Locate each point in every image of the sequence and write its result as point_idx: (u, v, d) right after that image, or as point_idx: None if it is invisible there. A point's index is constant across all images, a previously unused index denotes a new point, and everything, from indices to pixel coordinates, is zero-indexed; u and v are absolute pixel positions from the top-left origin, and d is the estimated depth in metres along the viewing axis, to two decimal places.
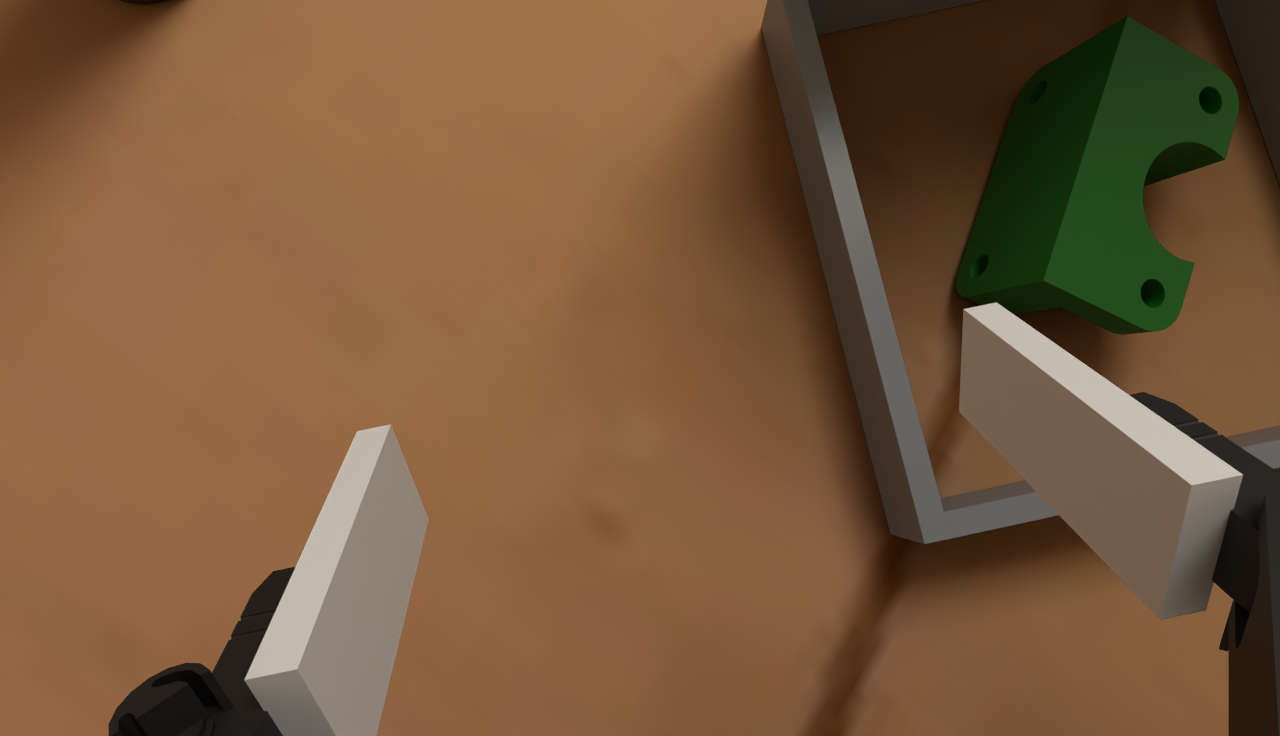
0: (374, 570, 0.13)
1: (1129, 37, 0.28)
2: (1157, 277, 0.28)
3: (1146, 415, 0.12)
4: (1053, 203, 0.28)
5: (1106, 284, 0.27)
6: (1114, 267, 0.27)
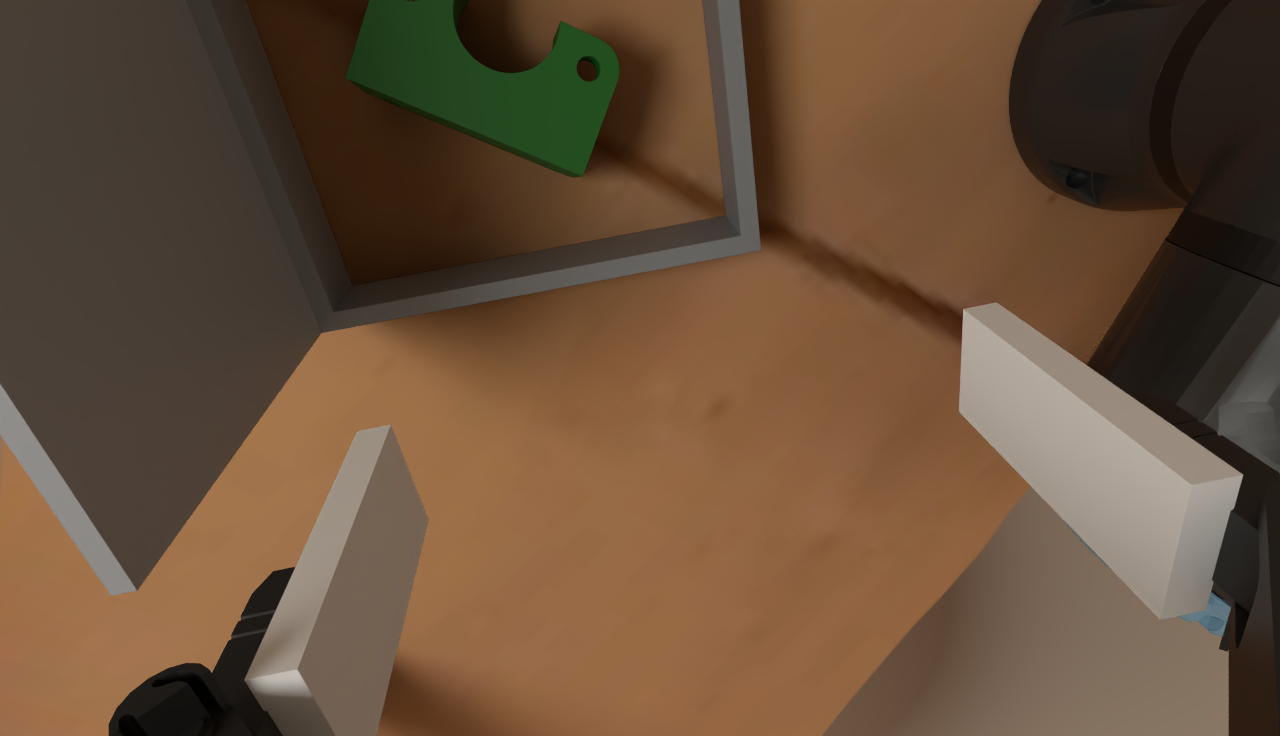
0: (374, 570, 0.13)
1: (365, 77, 0.32)
2: (575, 62, 0.33)
3: (1146, 415, 0.12)
4: (515, 149, 0.34)
5: (583, 115, 0.34)
6: (569, 106, 0.34)
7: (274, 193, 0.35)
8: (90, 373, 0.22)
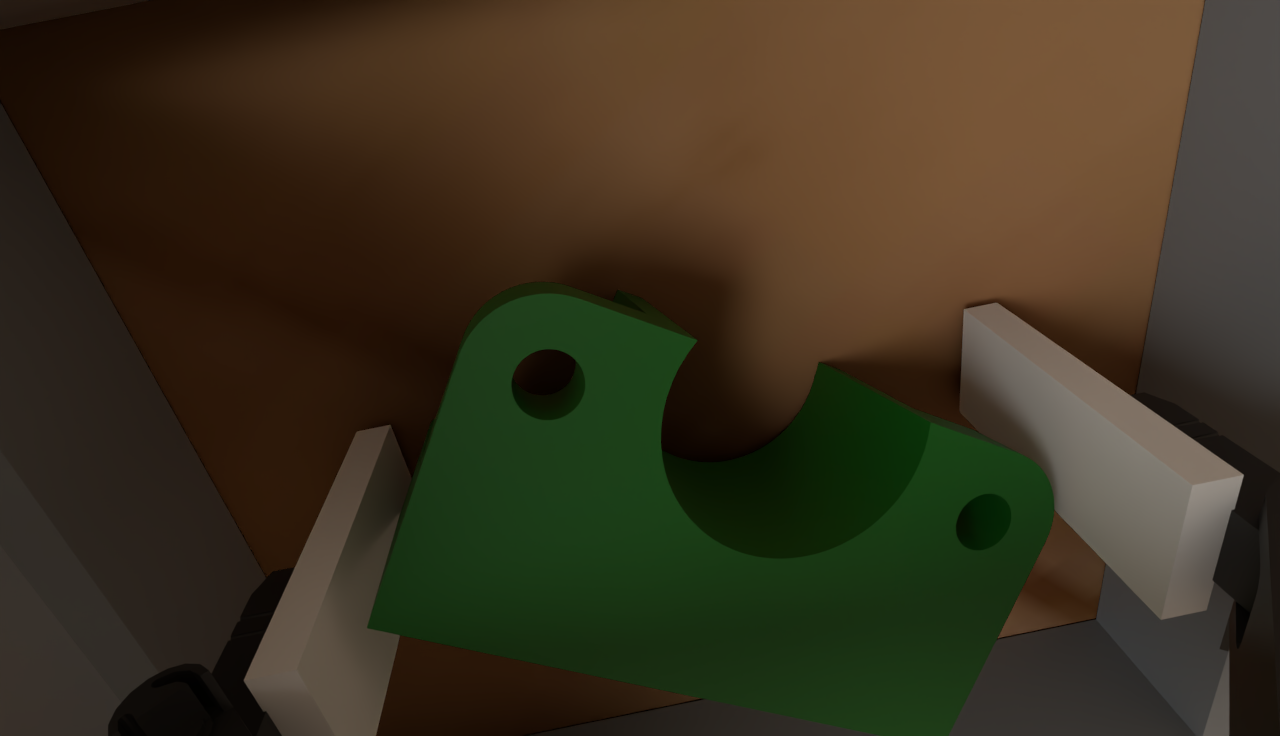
0: (374, 570, 0.13)
1: (421, 618, 0.11)
2: (955, 512, 0.13)
3: (1147, 415, 0.12)
4: None
5: (958, 625, 0.14)
6: (929, 611, 0.13)
7: None
8: None
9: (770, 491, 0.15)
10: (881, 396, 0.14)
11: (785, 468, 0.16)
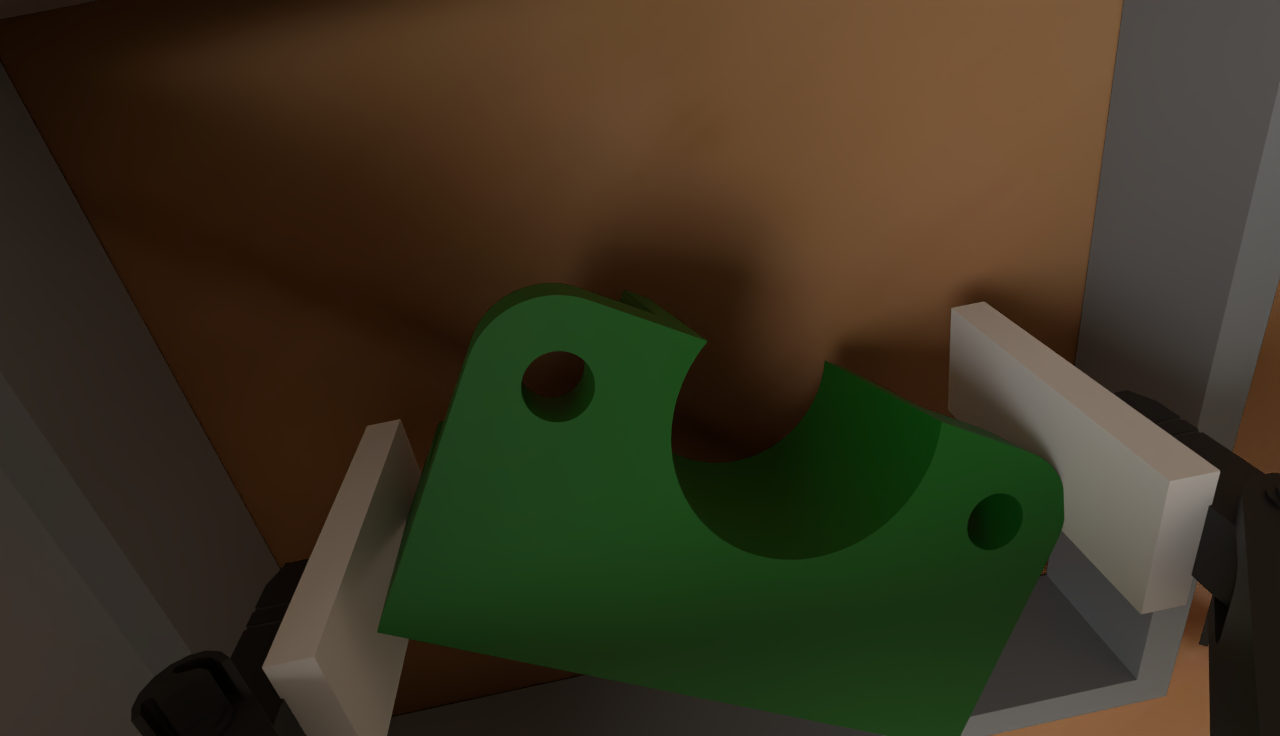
0: (386, 562, 0.14)
1: (431, 622, 0.11)
2: (966, 512, 0.13)
3: (1128, 412, 0.12)
4: None
5: (970, 625, 0.14)
6: (940, 611, 0.13)
7: None
8: None
9: (779, 491, 0.15)
10: (890, 395, 0.14)
11: (793, 468, 0.16)
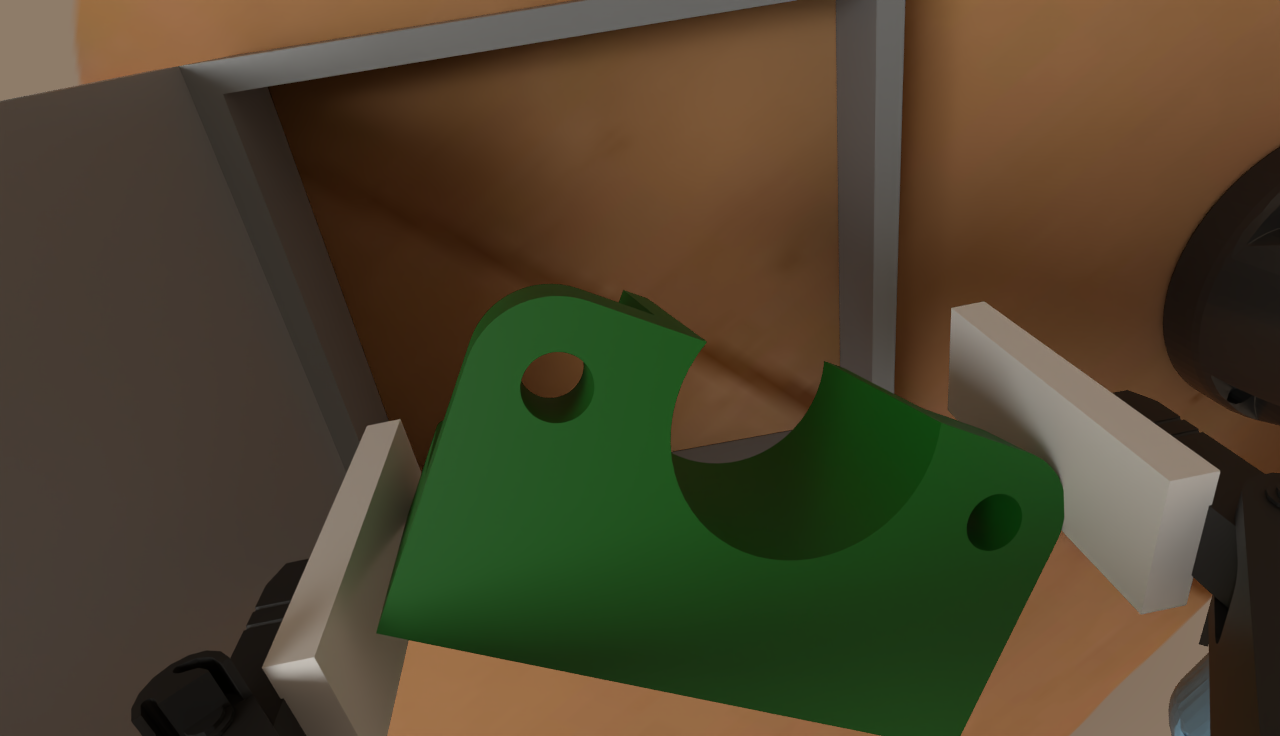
0: (386, 562, 0.14)
1: (431, 623, 0.11)
2: (965, 513, 0.13)
3: (1127, 412, 0.12)
4: None
5: (969, 625, 0.14)
6: (940, 611, 0.13)
7: (343, 437, 0.30)
8: None
9: (778, 492, 0.15)
10: (890, 396, 0.14)
11: (793, 469, 0.16)
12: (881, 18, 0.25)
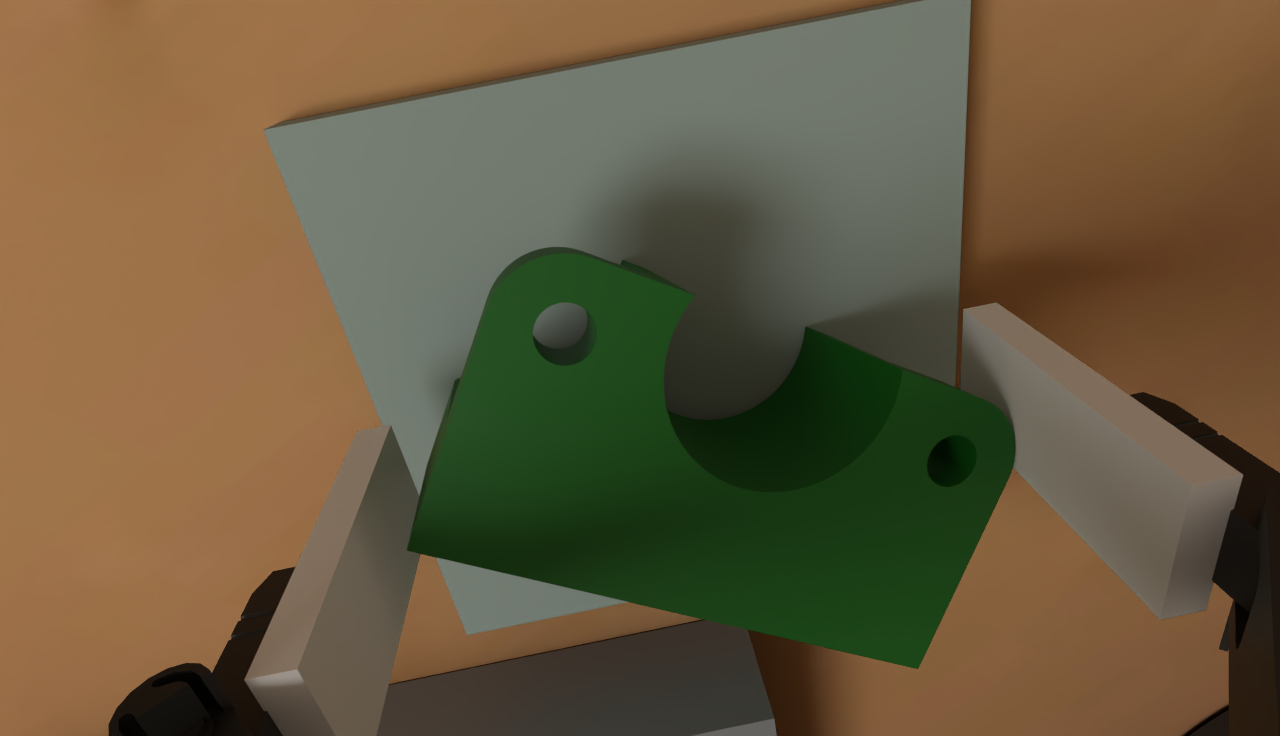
0: (374, 570, 0.13)
1: (454, 542, 0.13)
2: (926, 452, 0.15)
3: (1146, 415, 0.12)
4: None
5: (931, 555, 0.15)
6: (904, 542, 0.15)
7: None
8: None
9: (762, 441, 0.17)
10: (861, 352, 0.16)
11: (775, 422, 0.17)
12: None
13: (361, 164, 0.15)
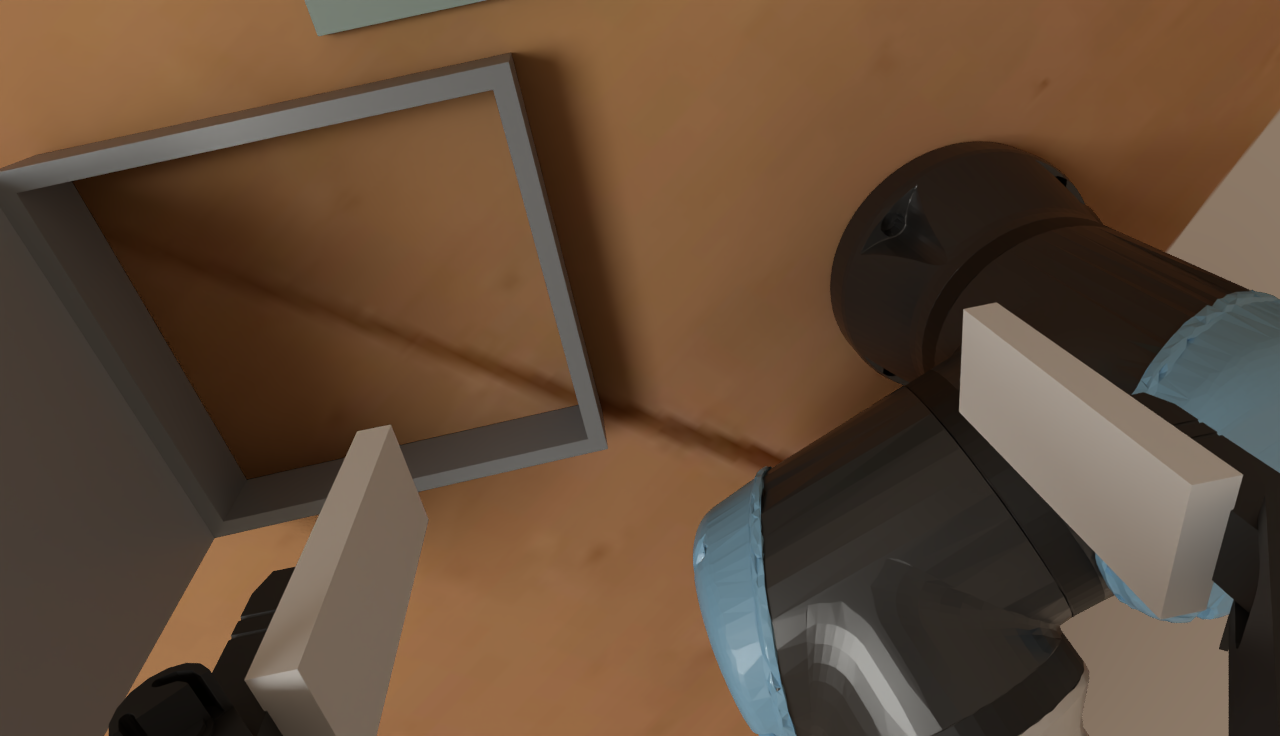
0: (374, 570, 0.13)
1: None
2: None
3: (1146, 415, 0.12)
4: None
5: None
6: None
7: (158, 435, 0.39)
8: None
9: None
10: None
11: None
12: (502, 110, 0.34)
13: None
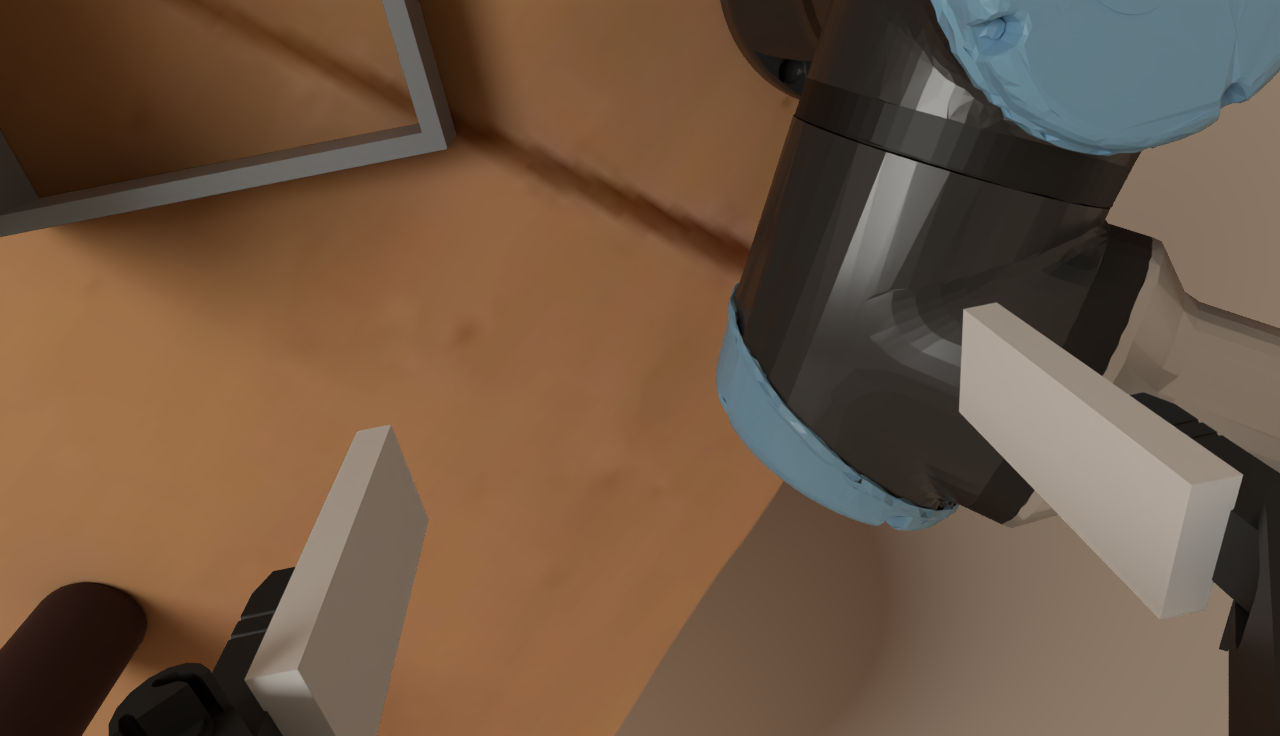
0: (374, 570, 0.13)
1: None
2: None
3: (1146, 415, 0.12)
4: None
5: None
6: None
7: None
8: None
9: None
10: None
11: None
12: None
13: None
